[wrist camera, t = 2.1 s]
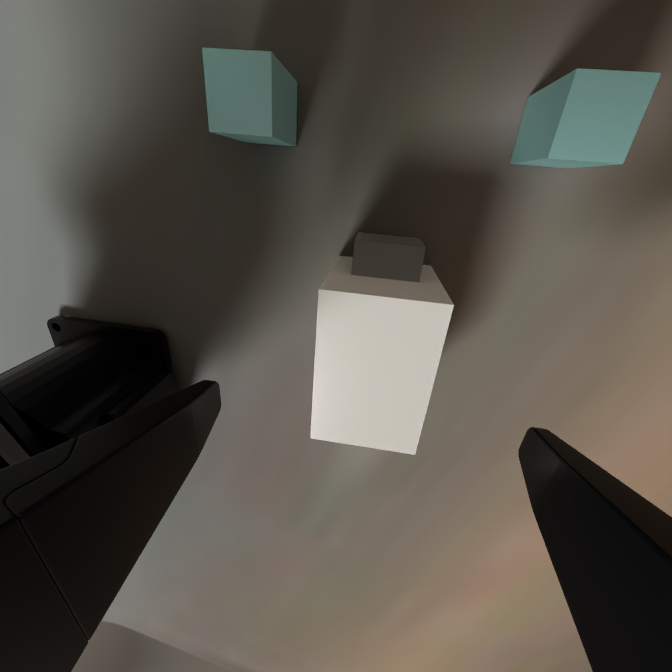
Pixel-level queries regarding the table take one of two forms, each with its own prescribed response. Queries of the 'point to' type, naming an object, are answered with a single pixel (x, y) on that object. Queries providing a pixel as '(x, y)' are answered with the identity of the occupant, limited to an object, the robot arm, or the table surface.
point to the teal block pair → (533, 137)
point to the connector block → (378, 344)
